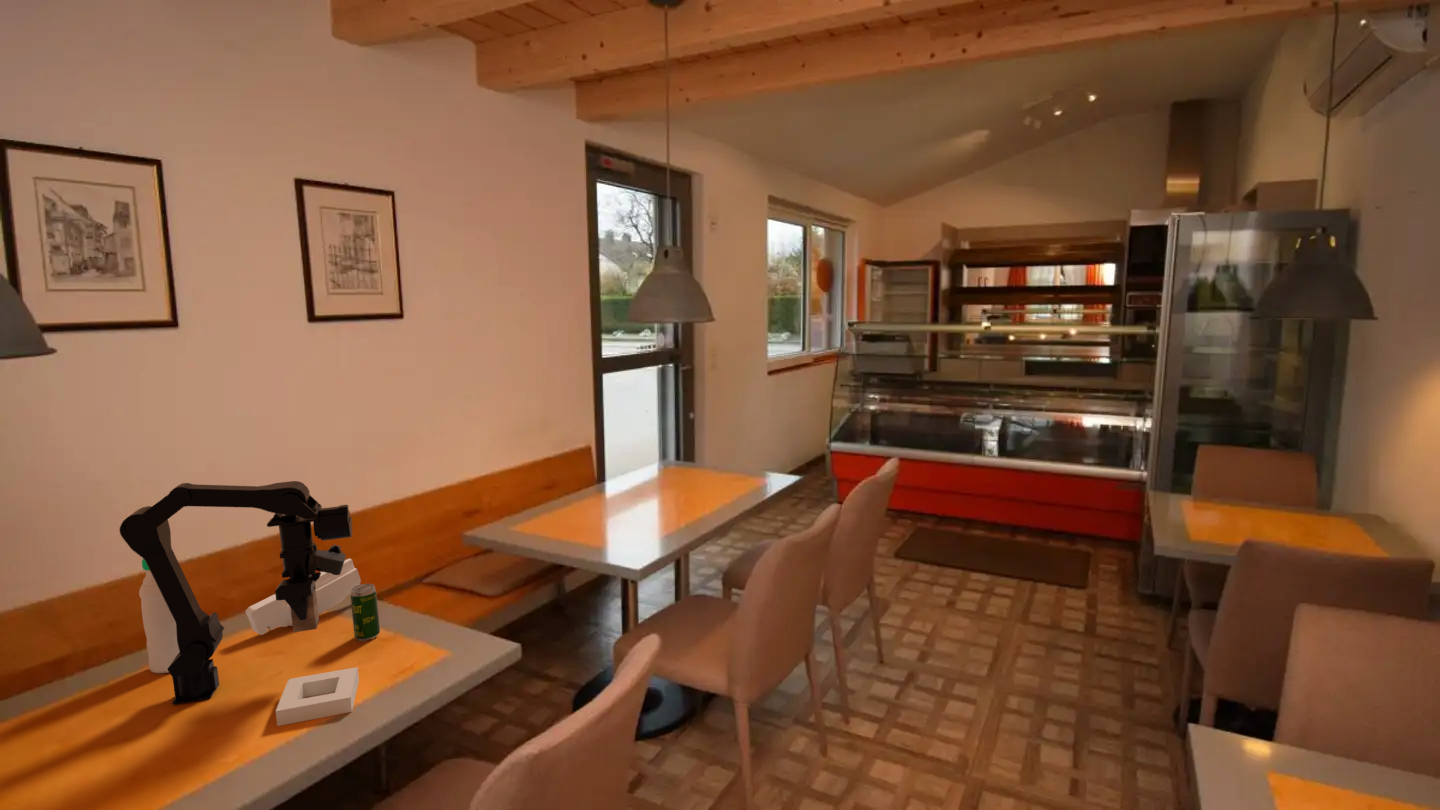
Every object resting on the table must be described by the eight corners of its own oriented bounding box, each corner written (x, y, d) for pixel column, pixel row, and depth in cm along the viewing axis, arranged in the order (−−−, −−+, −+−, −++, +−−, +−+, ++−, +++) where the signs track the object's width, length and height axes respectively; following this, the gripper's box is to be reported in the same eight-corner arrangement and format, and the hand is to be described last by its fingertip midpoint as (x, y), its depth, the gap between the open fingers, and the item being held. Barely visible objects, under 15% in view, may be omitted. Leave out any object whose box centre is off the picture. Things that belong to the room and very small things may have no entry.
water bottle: (185, 670, 158) (169, 559, 155) (145, 677, 156) (128, 564, 152) (194, 656, 165) (180, 548, 161) (156, 662, 162) (141, 553, 159)
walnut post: (293, 632, 152) (288, 591, 150) (296, 624, 156) (292, 583, 154) (316, 628, 153) (311, 587, 152) (319, 620, 157) (314, 580, 156)
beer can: (370, 629, 176) (365, 582, 175) (385, 634, 174) (380, 585, 172) (349, 639, 172) (344, 590, 170) (365, 643, 169) (360, 594, 167)
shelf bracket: (370, 603, 192) (355, 561, 188) (270, 659, 173) (252, 613, 170) (359, 598, 195) (345, 556, 191) (260, 653, 177) (242, 608, 173)
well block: (277, 726, 137) (275, 711, 136) (290, 693, 148) (288, 679, 148) (351, 711, 141) (350, 697, 141) (358, 680, 153) (357, 667, 152)
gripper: (335, 552, 146) (343, 626, 148) (345, 525, 163) (352, 592, 166) (270, 560, 142) (279, 636, 144) (288, 532, 159) (295, 601, 162)
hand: (304, 615), depth 154 cm, fingers closed on walnut post, 4 cm apart
